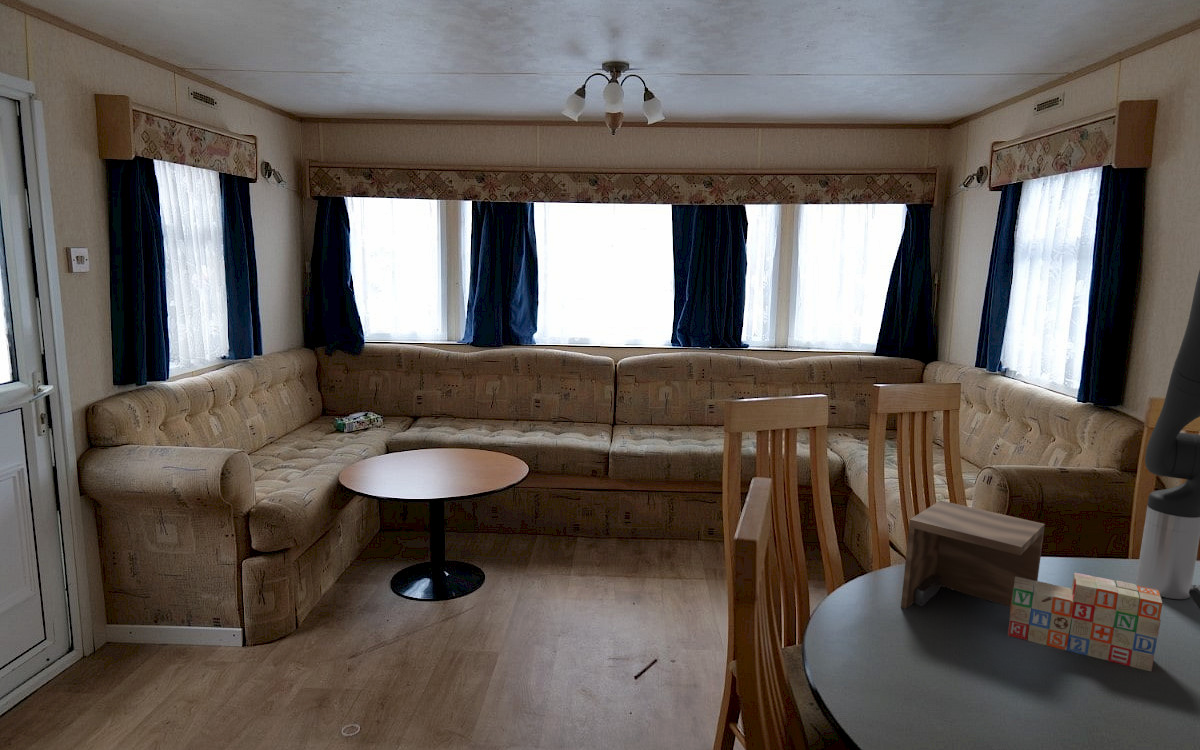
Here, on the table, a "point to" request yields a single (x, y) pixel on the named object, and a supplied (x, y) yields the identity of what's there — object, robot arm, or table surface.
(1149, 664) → the stack of blocks
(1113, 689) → the table surface
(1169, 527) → the robot arm
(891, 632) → the table surface
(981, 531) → the overhang shelf
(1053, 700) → the table surface
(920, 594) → the registration seat
